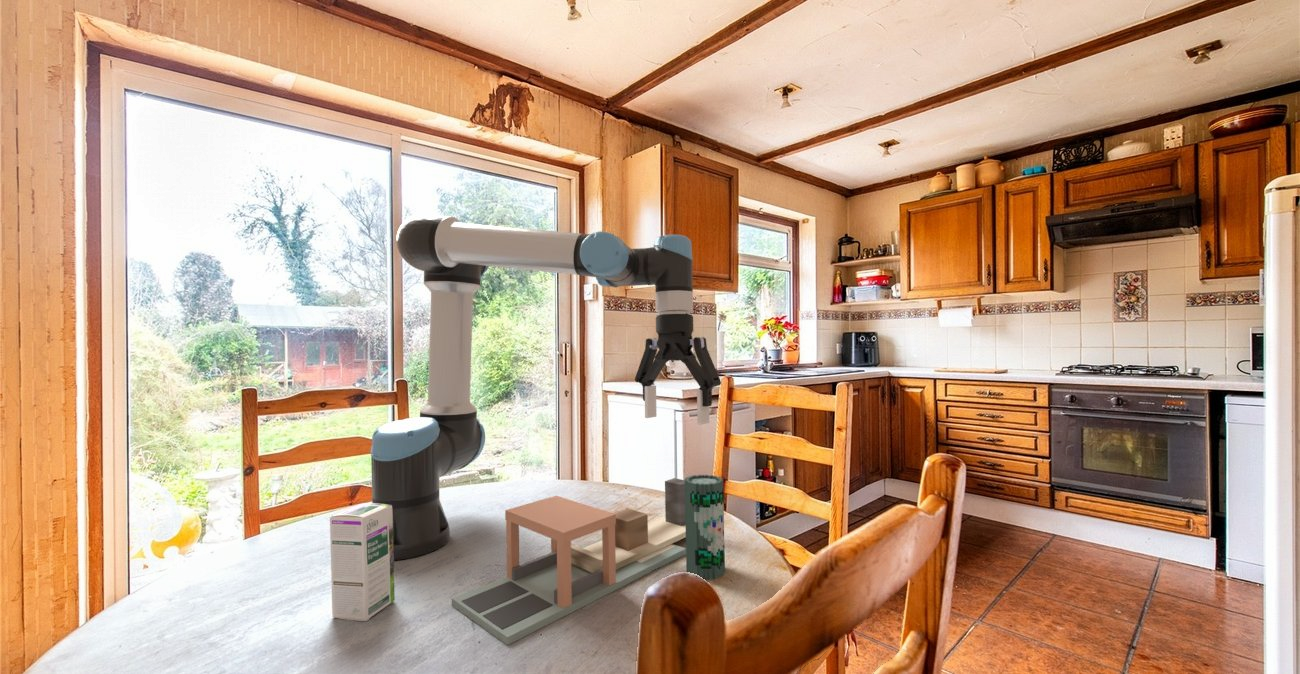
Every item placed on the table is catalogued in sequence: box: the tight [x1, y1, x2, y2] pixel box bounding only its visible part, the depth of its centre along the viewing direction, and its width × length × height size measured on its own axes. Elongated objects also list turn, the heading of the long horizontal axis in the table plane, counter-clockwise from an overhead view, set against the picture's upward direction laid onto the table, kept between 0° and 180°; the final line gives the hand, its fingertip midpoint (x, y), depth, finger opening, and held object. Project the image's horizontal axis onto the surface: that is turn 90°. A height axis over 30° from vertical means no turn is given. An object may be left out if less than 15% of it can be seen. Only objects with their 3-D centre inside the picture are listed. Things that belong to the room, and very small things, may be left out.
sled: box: [571, 477, 686, 573], centre depth 92 cm, size 9×26×9 cm, turn 137°
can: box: [684, 474, 726, 580], centre depth 83 cm, size 6×6×15 cm
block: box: [613, 508, 649, 551], centre depth 90 cm, size 5×5×5 cm
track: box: [451, 495, 686, 646], centre depth 82 cm, size 15×36×12 cm, turn 137°
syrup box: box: [329, 502, 396, 622], centre depth 73 cm, size 6×6×14 cm
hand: (675, 420), depth 100 cm, fingers open, 13 cm apart
